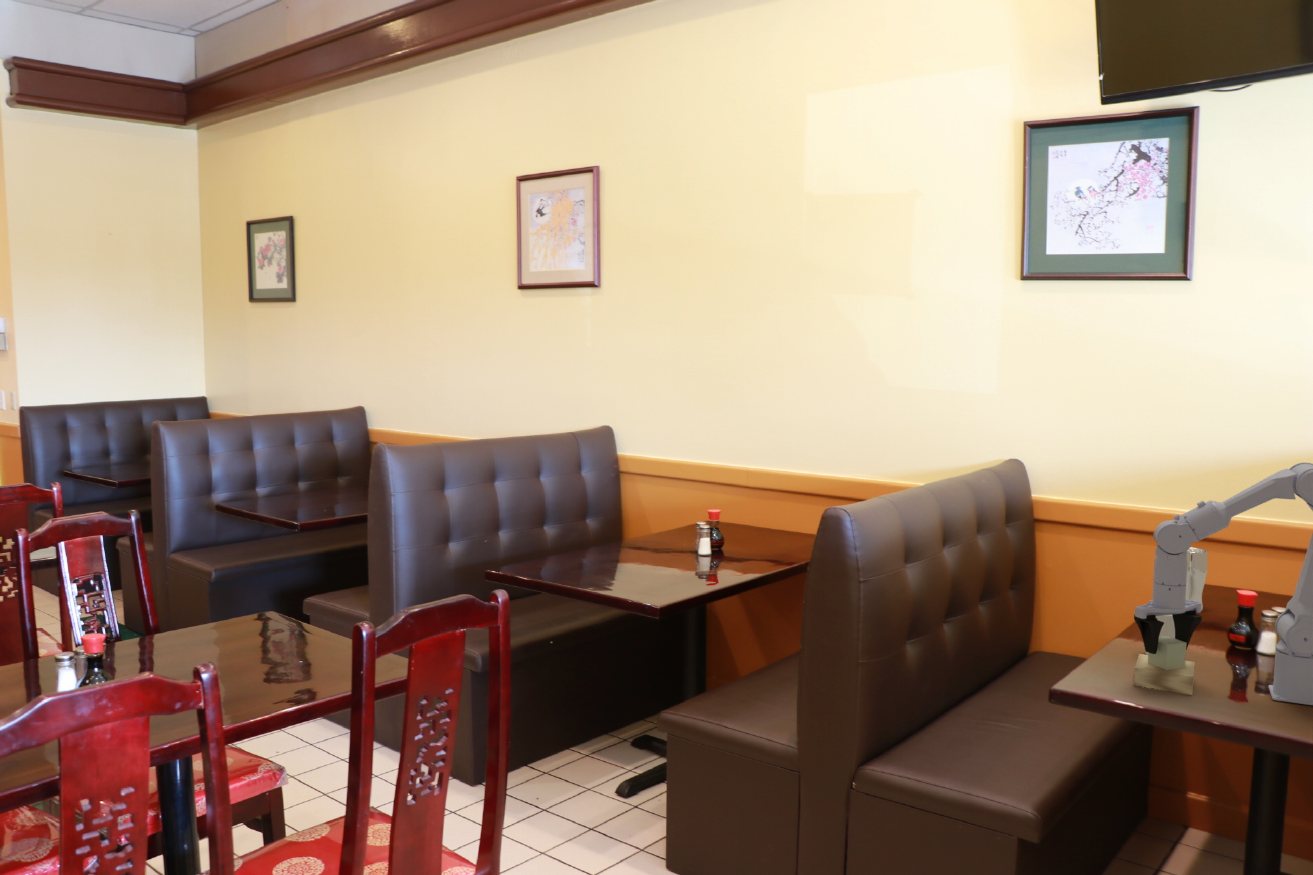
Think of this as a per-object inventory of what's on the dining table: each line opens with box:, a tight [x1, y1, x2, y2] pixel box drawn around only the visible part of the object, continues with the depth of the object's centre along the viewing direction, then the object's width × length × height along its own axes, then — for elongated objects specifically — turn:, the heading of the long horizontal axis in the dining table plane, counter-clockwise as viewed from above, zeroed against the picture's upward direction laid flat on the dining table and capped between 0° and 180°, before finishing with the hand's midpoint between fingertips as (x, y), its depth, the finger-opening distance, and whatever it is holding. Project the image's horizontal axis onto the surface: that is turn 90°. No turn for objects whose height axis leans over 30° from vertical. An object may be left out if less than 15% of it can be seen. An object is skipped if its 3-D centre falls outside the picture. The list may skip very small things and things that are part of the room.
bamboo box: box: [1133, 653, 1196, 696], centre depth 194 cm, size 10×10×4 cm
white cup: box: [1145, 615, 1175, 655], centre depth 210 cm, size 8×8×10 cm
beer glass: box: [1185, 546, 1209, 612], centre depth 248 cm, size 7×7×15 cm
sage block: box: [1148, 636, 1187, 670], centre depth 194 cm, size 5×5×5 cm
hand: (1166, 650), depth 194 cm, fingers open, 7 cm apart
